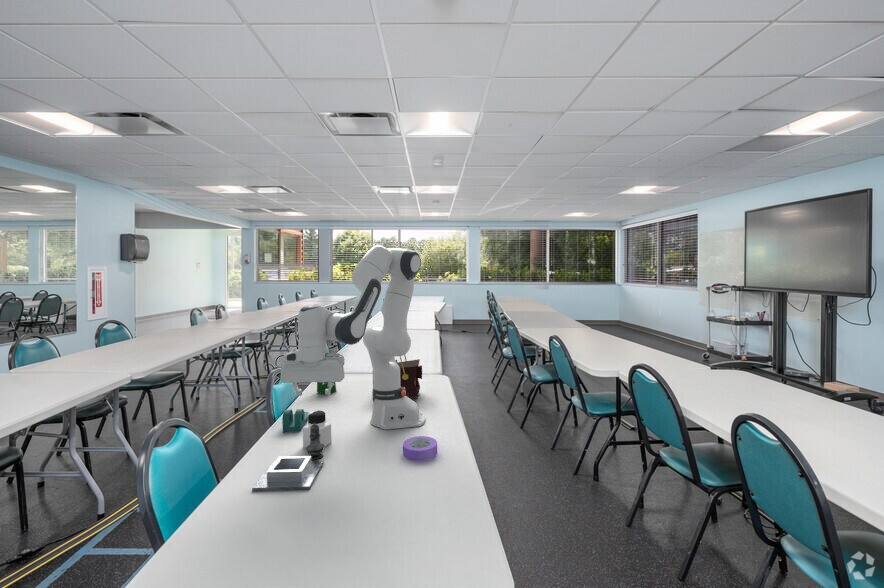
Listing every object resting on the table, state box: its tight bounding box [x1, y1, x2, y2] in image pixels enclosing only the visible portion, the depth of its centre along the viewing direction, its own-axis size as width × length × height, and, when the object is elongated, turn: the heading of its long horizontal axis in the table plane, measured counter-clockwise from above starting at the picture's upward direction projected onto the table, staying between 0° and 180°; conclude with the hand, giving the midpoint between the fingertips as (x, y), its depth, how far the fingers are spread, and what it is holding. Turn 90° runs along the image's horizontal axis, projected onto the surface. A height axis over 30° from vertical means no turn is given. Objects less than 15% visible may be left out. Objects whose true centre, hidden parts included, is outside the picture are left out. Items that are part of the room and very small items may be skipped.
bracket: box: [281, 408, 310, 433], centre depth 168 cm, size 18×7×8 cm, turn 5°
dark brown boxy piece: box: [372, 354, 423, 397], centre depth 203 cm, size 16×23×25 cm
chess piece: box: [305, 422, 325, 461], centre depth 137 cm, size 6×6×12 cm
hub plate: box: [251, 455, 325, 492], centre depth 124 cm, size 16×16×4 cm
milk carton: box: [316, 352, 337, 395], centre depth 213 cm, size 9×9×20 cm
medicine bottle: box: [302, 410, 332, 448], centre depth 147 cm, size 7×7×12 cm
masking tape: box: [402, 435, 438, 462], centre depth 139 cm, size 12×12×4 cm
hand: (313, 395), depth 136 cm, fingers open, 8 cm apart
